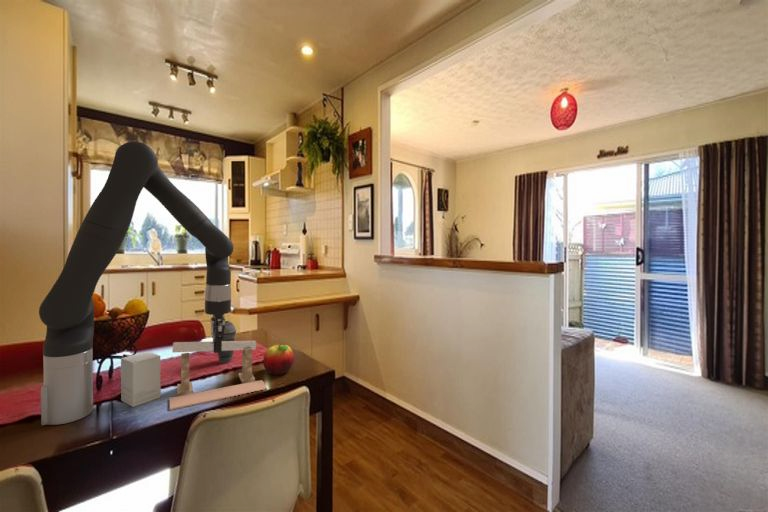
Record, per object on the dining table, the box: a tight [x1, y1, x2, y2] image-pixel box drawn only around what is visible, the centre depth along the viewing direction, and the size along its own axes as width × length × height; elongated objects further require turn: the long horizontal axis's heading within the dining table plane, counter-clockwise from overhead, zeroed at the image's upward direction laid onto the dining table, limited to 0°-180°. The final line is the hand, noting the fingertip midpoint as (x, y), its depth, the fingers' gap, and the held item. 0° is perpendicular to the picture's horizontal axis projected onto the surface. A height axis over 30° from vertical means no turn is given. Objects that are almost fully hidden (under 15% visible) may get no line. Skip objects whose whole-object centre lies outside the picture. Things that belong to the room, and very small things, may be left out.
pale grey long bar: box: [171, 340, 257, 353], centre depth 106 cm, size 24×2×2 cm, turn 124°
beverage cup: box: [217, 314, 237, 364], centre depth 126 cm, size 7×7×20 cm
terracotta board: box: [169, 379, 268, 411], centre depth 100 cm, size 26×7×1 cm, turn 123°
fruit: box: [262, 343, 295, 376], centre depth 118 cm, size 11×11×10 cm
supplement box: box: [120, 351, 162, 408], centre depth 96 cm, size 7×7×13 cm
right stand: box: [238, 348, 256, 384], centre depth 111 cm, size 4×6×11 cm, turn 33°
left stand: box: [176, 352, 194, 397], centre depth 102 cm, size 4×6×11 cm, turn 33°
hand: (217, 350), depth 106 cm, fingers closed on pale grey long bar, 2 cm apart
